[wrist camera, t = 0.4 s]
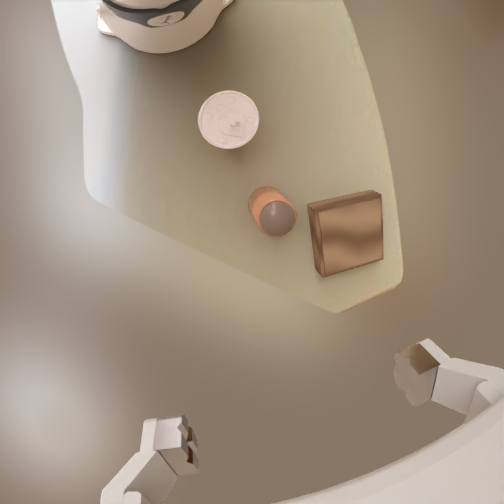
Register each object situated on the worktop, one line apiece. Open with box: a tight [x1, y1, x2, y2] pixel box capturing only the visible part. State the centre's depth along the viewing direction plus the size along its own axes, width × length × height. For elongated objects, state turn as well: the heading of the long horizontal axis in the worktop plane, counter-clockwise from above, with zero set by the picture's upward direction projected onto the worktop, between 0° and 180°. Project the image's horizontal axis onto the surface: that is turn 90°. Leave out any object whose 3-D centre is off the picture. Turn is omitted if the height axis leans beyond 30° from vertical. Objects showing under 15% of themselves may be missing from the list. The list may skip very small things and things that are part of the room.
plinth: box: [307, 190, 383, 277], centre depth 47 cm, size 11×11×3 cm
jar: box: [249, 187, 296, 236], centre depth 42 cm, size 5×5×7 cm
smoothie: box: [198, 91, 259, 149], centre depth 33 cm, size 6×6×14 cm
